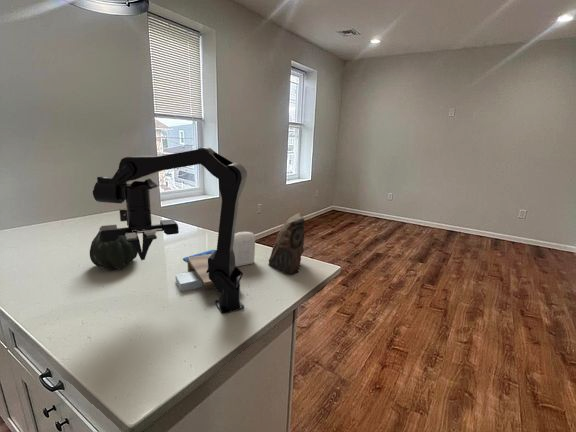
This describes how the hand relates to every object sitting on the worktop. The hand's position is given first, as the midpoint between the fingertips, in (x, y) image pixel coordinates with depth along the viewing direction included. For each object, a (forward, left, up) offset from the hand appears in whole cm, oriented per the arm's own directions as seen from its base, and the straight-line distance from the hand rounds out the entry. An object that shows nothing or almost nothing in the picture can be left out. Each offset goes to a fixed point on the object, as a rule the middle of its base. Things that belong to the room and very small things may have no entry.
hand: (142, 259), depth 85 cm
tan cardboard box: (+3, -20, -12) cm, 24 cm away
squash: (+28, +6, -12) cm, 31 cm away
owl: (+2, -48, -12) cm, 50 cm away
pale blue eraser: (+3, -17, -12) cm, 21 cm away
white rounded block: (+11, -34, -12) cm, 38 cm away
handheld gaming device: (+22, -24, -13) cm, 35 cm away
